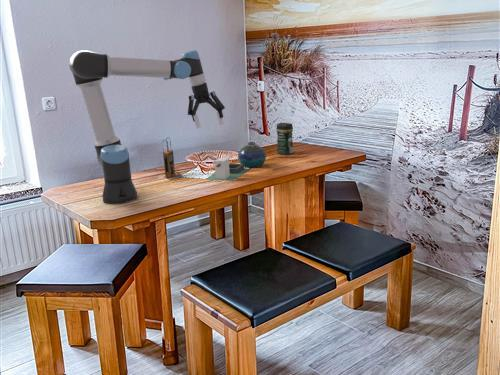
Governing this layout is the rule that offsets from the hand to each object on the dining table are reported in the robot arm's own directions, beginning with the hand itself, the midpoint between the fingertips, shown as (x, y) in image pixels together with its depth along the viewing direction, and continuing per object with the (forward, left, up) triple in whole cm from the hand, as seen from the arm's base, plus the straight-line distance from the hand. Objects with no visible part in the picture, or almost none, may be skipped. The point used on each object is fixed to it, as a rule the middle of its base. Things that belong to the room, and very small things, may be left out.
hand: (210, 126), depth 238 cm
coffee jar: (+58, -22, -26) cm, 68 cm away
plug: (-6, -7, -24) cm, 26 cm away
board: (+1, -7, -26) cm, 27 cm away
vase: (+23, -13, -26) cm, 37 cm away
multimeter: (-2, +20, -26) cm, 33 cm away
